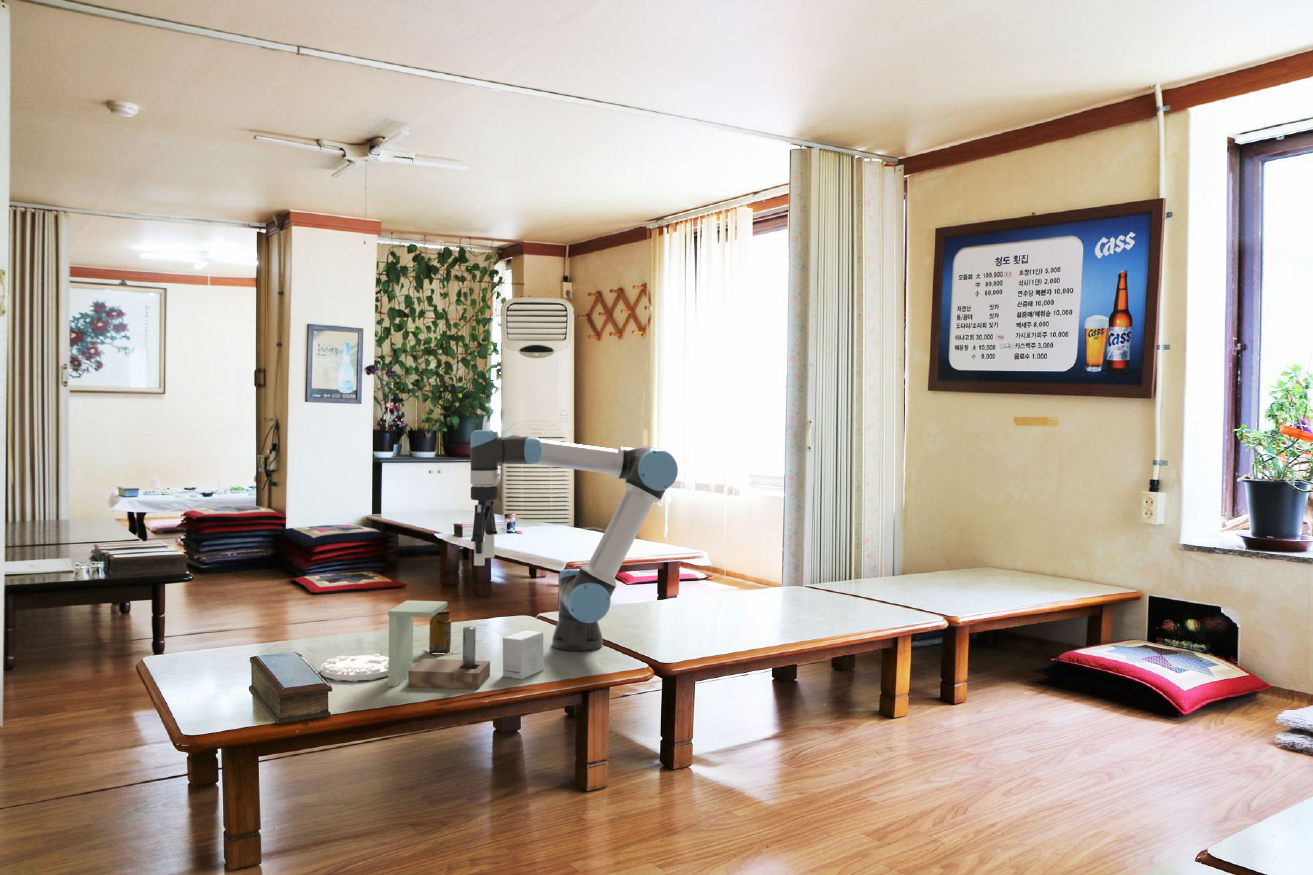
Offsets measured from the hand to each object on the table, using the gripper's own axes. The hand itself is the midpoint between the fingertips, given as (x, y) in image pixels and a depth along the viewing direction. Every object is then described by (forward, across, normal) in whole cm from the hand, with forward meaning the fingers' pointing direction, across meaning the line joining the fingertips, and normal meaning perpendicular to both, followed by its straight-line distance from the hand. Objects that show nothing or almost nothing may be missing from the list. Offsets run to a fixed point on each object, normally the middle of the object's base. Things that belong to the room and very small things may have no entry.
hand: (484, 561), depth 262 cm
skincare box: (+28, -11, -12) cm, 33 cm away
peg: (+28, -21, 0) cm, 35 cm away
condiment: (+28, +9, +15) cm, 33 cm away
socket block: (+28, -20, +5) cm, 35 cm away
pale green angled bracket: (+28, -20, +13) cm, 37 cm away
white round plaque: (+28, -13, +31) cm, 44 cm away
